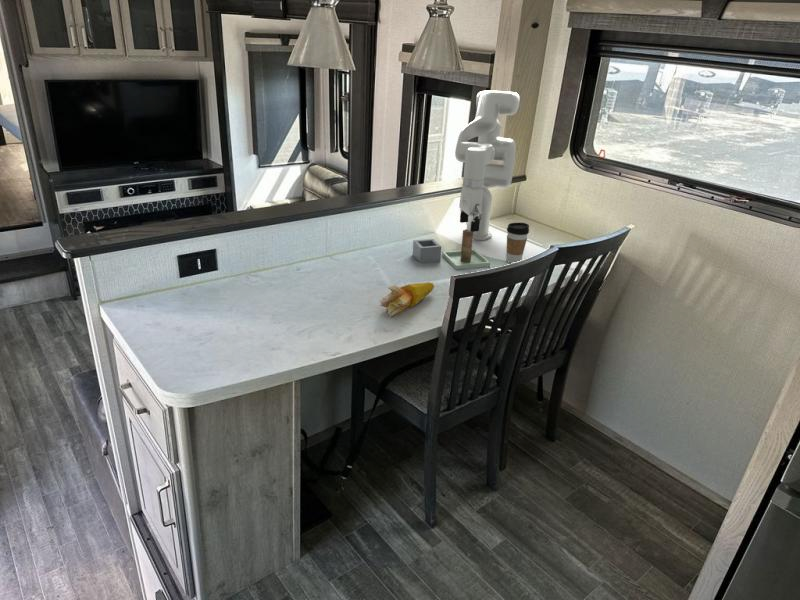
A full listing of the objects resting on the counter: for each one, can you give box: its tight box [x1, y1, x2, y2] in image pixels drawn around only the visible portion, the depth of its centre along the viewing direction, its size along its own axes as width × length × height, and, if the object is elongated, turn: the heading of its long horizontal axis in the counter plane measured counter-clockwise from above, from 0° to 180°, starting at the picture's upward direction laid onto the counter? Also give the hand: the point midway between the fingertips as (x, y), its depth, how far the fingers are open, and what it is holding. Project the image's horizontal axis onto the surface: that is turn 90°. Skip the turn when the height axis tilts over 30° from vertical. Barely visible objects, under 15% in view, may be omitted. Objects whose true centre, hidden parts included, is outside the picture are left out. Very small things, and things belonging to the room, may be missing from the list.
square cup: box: [412, 238, 442, 264], centre depth 223 cm, size 8×8×7 cm
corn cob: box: [379, 281, 435, 319], centre depth 187 cm, size 8×8×25 cm
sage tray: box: [441, 248, 491, 270], centre depth 223 cm, size 14×14×2 cm
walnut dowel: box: [460, 229, 474, 263], centre depth 220 cm, size 4×4×12 cm
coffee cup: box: [505, 222, 530, 264], centre depth 224 cm, size 8×8×15 cm
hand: (469, 226), depth 218 cm, fingers open, 9 cm apart
